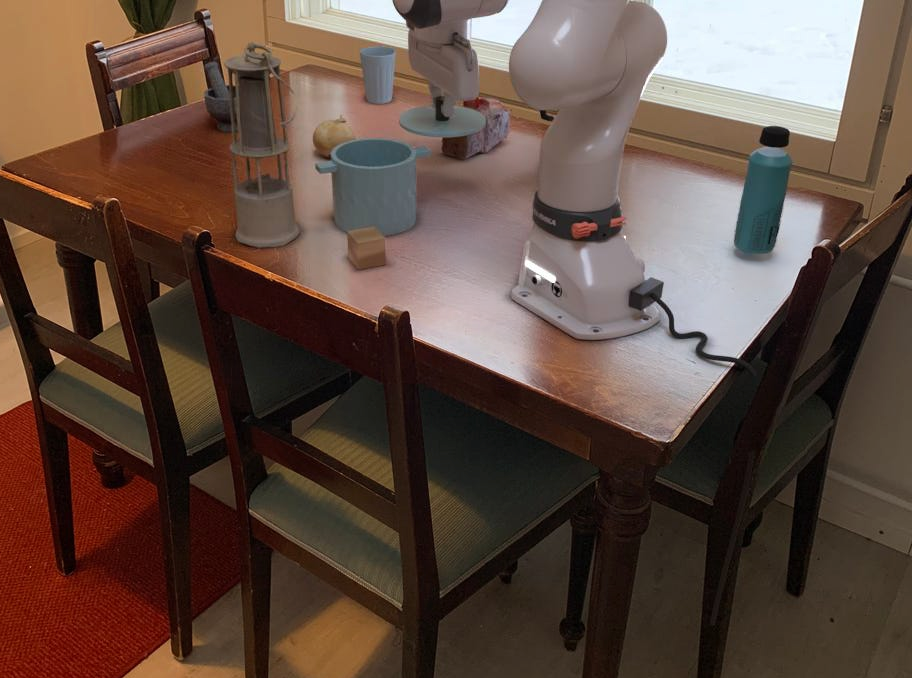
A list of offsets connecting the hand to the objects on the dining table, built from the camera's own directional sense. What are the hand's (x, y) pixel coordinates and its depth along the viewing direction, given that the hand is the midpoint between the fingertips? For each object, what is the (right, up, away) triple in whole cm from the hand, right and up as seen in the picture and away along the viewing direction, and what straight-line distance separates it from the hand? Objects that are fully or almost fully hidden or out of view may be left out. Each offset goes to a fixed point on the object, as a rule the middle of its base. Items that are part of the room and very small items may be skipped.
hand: (442, 111), depth 169 cm
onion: (-20, -1, +23) cm, 31 cm away
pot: (-11, -18, -1) cm, 22 cm away
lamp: (-27, -22, -7) cm, 36 cm away
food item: (+7, +1, +26) cm, 27 cm away
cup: (-13, +18, +50) cm, 55 cm away
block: (-12, -27, -14) cm, 33 cm away
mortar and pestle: (-43, +8, +36) cm, 57 cm away
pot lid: (0, -1, +1) cm, 2 cm away
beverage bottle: (+48, -26, -11) cm, 56 cm away
